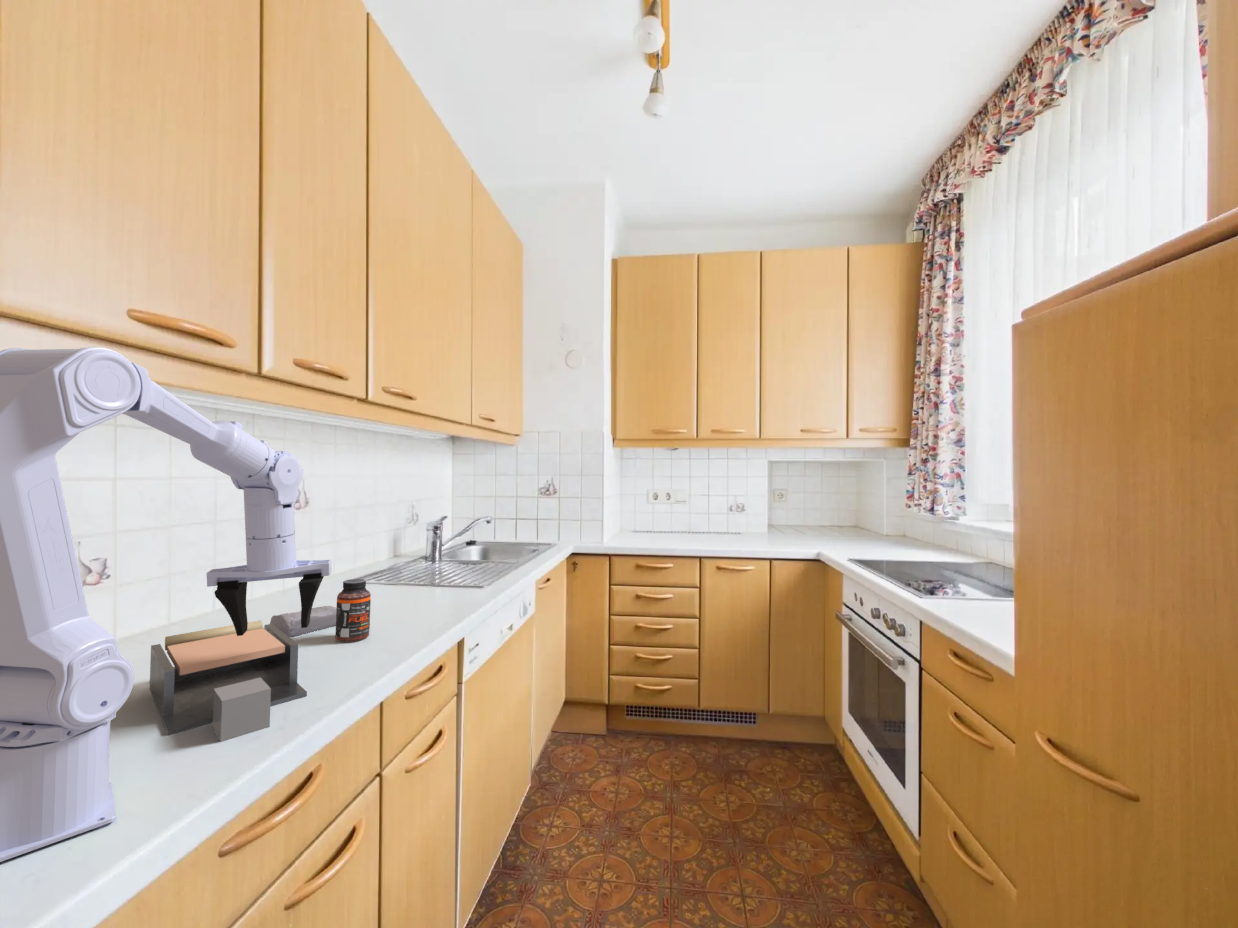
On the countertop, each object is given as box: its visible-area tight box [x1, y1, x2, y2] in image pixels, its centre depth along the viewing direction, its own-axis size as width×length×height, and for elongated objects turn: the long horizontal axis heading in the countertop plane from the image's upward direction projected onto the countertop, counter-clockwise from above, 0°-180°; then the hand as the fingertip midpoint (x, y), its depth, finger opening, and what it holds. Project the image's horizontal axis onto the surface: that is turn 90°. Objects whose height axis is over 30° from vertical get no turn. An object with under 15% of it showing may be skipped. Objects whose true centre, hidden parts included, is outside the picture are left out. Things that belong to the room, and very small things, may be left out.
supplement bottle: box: [335, 578, 372, 643], centre depth 99 cm, size 6×6×11 cm
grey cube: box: [211, 677, 271, 743], centre depth 64 cm, size 5×5×5 cm
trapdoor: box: [164, 620, 285, 675], centre depth 76 cm, size 12×15×2 cm
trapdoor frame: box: [149, 623, 308, 736], centre depth 74 cm, size 15×19×6 cm
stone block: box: [269, 605, 337, 638], centre depth 106 cm, size 12×5×10 cm
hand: (274, 629), depth 72 cm, fingers open, 7 cm apart
